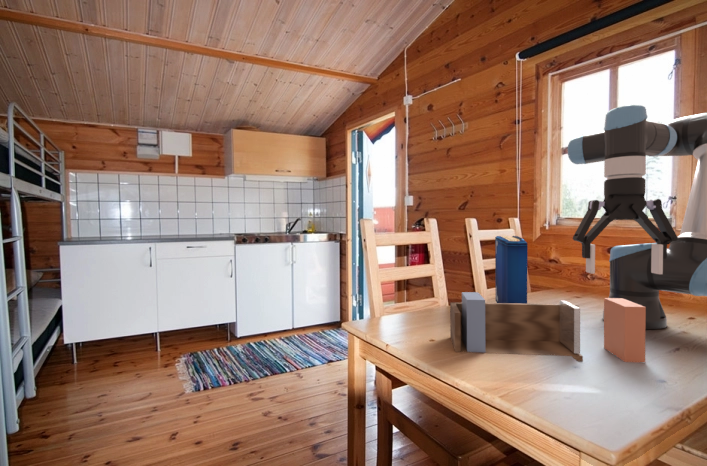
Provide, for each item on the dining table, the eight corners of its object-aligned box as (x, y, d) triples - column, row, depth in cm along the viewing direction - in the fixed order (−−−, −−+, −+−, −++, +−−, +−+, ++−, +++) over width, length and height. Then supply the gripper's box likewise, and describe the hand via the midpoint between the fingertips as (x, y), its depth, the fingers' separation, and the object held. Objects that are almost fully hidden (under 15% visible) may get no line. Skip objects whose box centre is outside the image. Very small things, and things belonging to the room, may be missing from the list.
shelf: (563, 344, 94) (563, 304, 94) (582, 360, 83) (582, 315, 83) (450, 341, 98) (450, 302, 98) (455, 356, 87) (454, 312, 87)
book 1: (478, 340, 95) (478, 292, 95) (485, 352, 87) (485, 299, 86) (462, 339, 96) (461, 292, 96) (467, 351, 87) (466, 299, 87)
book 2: (530, 318, 118) (530, 238, 118) (506, 317, 120) (505, 238, 119) (515, 303, 140) (515, 235, 139) (495, 302, 141) (494, 235, 140)
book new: (622, 348, 90) (622, 298, 90) (645, 362, 82) (645, 307, 81) (603, 348, 91) (604, 298, 91) (624, 361, 82) (624, 306, 82)
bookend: (565, 341, 92) (565, 300, 92) (580, 353, 84) (580, 308, 84) (559, 341, 92) (559, 300, 92) (574, 353, 84) (574, 308, 84)
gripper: (675, 178, 87) (673, 271, 87) (558, 181, 91) (557, 270, 91) (700, 174, 79) (698, 276, 80) (571, 177, 83) (570, 274, 84)
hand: (623, 273), depth 86 cm, fingers open, 13 cm apart
